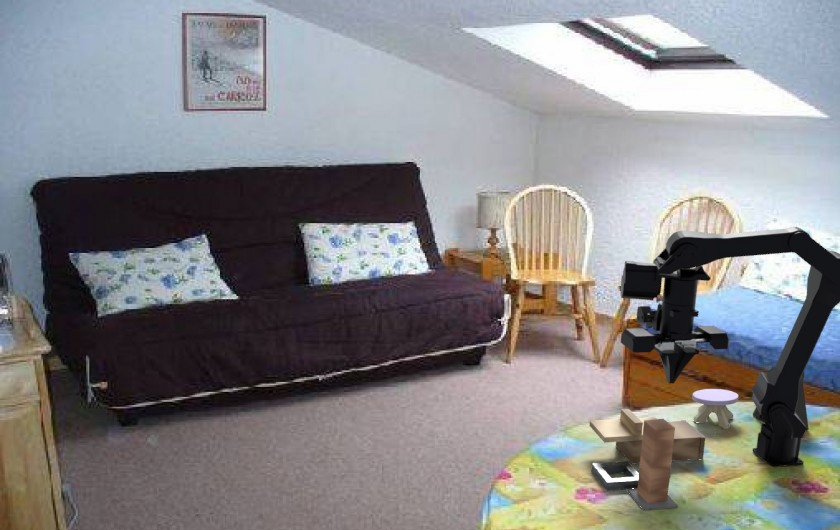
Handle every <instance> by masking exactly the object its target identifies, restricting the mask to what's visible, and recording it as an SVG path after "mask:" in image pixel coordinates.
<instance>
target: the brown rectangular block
mask: <svg viewBox="0 0 840 530" xmlns="http://www.w3.org/2000/svg"><path fill="white" fill-rule="evenodd" d="M668 422H669V421H667V420H666V419H664V418H657V419H654V420H644V427H643V437H642V447H641V457H640V463H639V466H638V467H639V469H638V470H639V471H638V473H639V478H638V488H637V493H638V494H639V495H640V496H641V497H642V498H643V499H644V500H645V501H646V502H647V503H657V502H665V501H667V498H668V495H669V489H670V488H669V487H670V480H671V479H670V477H671V470H672V469H671V468H672V462H673V461H672V451H673V442H674V433H675V427H673V426H672V425H671V424H670V423H668Z"/></svg>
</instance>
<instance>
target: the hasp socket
mask: <svg viewBox="0 0 840 530" xmlns="http://www.w3.org/2000/svg"><path fill="white" fill-rule="evenodd" d="M619 472H623V474H624V473H625V474H626V475H625V474H624V475H625V477H613V478H612V477H611V476H610V475H609V474H620V473H619ZM591 473H592V474H593V475H594V477H596V479H597V480H598V481H599V483H600V484H601V486H602V487H604V489H605V490H606V491H618V490H619V489H621V490H627V489H632V488H638V478H639V471H638V470H636V468H635V467H634V466H633V465H632V463H631V462H630V461H629V460H625V461H623V460H622V461H621V460H620V461H608V462H593V463H591Z"/></svg>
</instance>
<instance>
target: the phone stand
mask: <svg viewBox="0 0 840 530" xmlns="http://www.w3.org/2000/svg"><path fill="white" fill-rule="evenodd" d="M774 368H775V367H774ZM774 368H771V369H770V370H769V372H770V371H772V370H773V369H774ZM804 378H805V371H804V372H803V374H802V376H801V379H800V382H799V398H798V403H797V407H796V411H795V412H796V413H797V415H798V416H799V418H800V419H801V421H802V422H803V423H804V425H805V426H806V428H807V430H806V431H809V430H810V429H809V421H808V414H807V405H806V398H805V397H806V396H805V389H804V388H805V387H804ZM752 416H753V418H755V419H757V420H759V421H761V422H762V423H763V424H765V423H766V421H765V420H764V419H763V418H762V416H761V414H760V412H759V411H758V409H757V407H756V406H755V408H754V411H753V413H752Z"/></svg>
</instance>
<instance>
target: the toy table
mask: <svg viewBox="0 0 840 530" xmlns="http://www.w3.org/2000/svg"><path fill="white" fill-rule="evenodd" d="M691 400H693V401H694V402H695V403H697V404H701V405H700V406H699V407H698V410H697V413H696V414H695V416H694V417H693V419H692V421H693V420H694V421H695V422H703V423H706V422H707V419H708V417H709V416H710V414H712V413H714V414H715V415H716V418H717V425H718V426H719V427H720V428H721V429H724V430H729V429H730V423H729V420H732V419H733V418H734V414H733V413H732V411H731V410H730V409H729V408H728V407H727V406H728V405H733V404H735V403H738V401H739V394H738V393H736V392H734V391H731V390H728V389H719V388H705V389H700V390H696V391H694V392H693V393H692V397H691ZM694 421H693V422H694ZM695 422H694V423H695Z"/></svg>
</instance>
